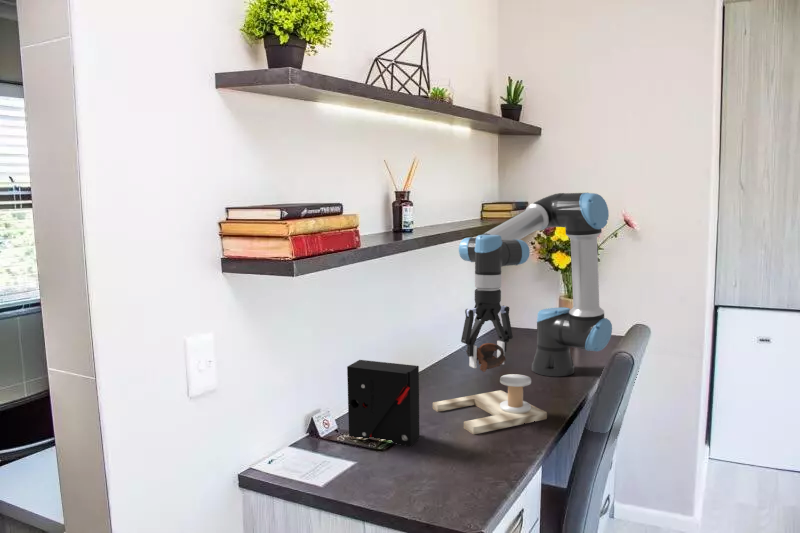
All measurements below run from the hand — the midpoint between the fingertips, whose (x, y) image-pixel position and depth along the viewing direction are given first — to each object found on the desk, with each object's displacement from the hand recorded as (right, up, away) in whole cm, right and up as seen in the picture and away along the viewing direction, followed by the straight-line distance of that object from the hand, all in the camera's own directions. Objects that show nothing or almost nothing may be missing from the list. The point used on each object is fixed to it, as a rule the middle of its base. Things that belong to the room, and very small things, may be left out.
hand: (486, 365), depth 184 cm
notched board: (0, -15, +3) cm, 15 cm away
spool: (+9, -13, +2) cm, 16 cm away
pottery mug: (0, -1, 0) cm, 1 cm away
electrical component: (-29, -18, -13) cm, 37 cm away
